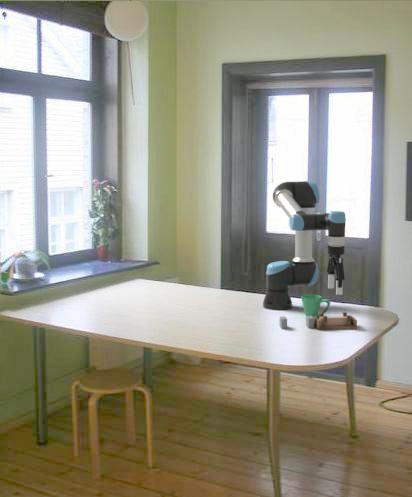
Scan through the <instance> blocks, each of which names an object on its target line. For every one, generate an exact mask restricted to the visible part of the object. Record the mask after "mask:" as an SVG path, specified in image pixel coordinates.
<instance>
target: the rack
mask: <svg viewBox="0 0 412 497" xmlns="http://www.w3.org/2000/svg"><path fill="white" fill-rule="evenodd" d="M319 313H320V316H319V317H323V326H321V321H320V320H319V318H318V316H314V328H316V329H317V330H318V331H332V330H333V331H334V330H335V331H336V330H338V331H339V330H340V329H341V330H357V329H358V325H357V324H358V320H357V319H356V318H355V317H354V316H352V315H350V314H347V312H346V311H344V312H342V316H347V325H331V326H327V317H328V316H327V315H325V313H322V312H319Z"/></svg>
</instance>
